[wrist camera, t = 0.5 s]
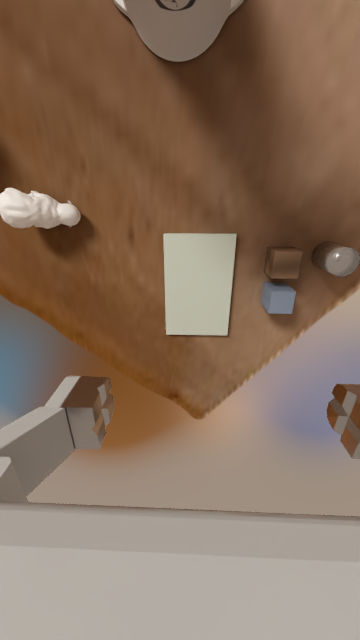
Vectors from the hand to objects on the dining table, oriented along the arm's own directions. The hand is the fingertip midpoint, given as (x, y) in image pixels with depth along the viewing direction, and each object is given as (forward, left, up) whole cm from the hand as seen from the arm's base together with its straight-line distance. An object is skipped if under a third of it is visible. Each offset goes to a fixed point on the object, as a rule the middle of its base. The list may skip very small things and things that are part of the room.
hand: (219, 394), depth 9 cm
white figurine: (-5, -27, -44) cm, 52 cm away
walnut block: (+4, +17, -44) cm, 48 cm away
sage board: (+10, +1, -44) cm, 45 cm away
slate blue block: (+11, +17, -44) cm, 49 cm away
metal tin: (+3, +26, -44) cm, 51 cm away
